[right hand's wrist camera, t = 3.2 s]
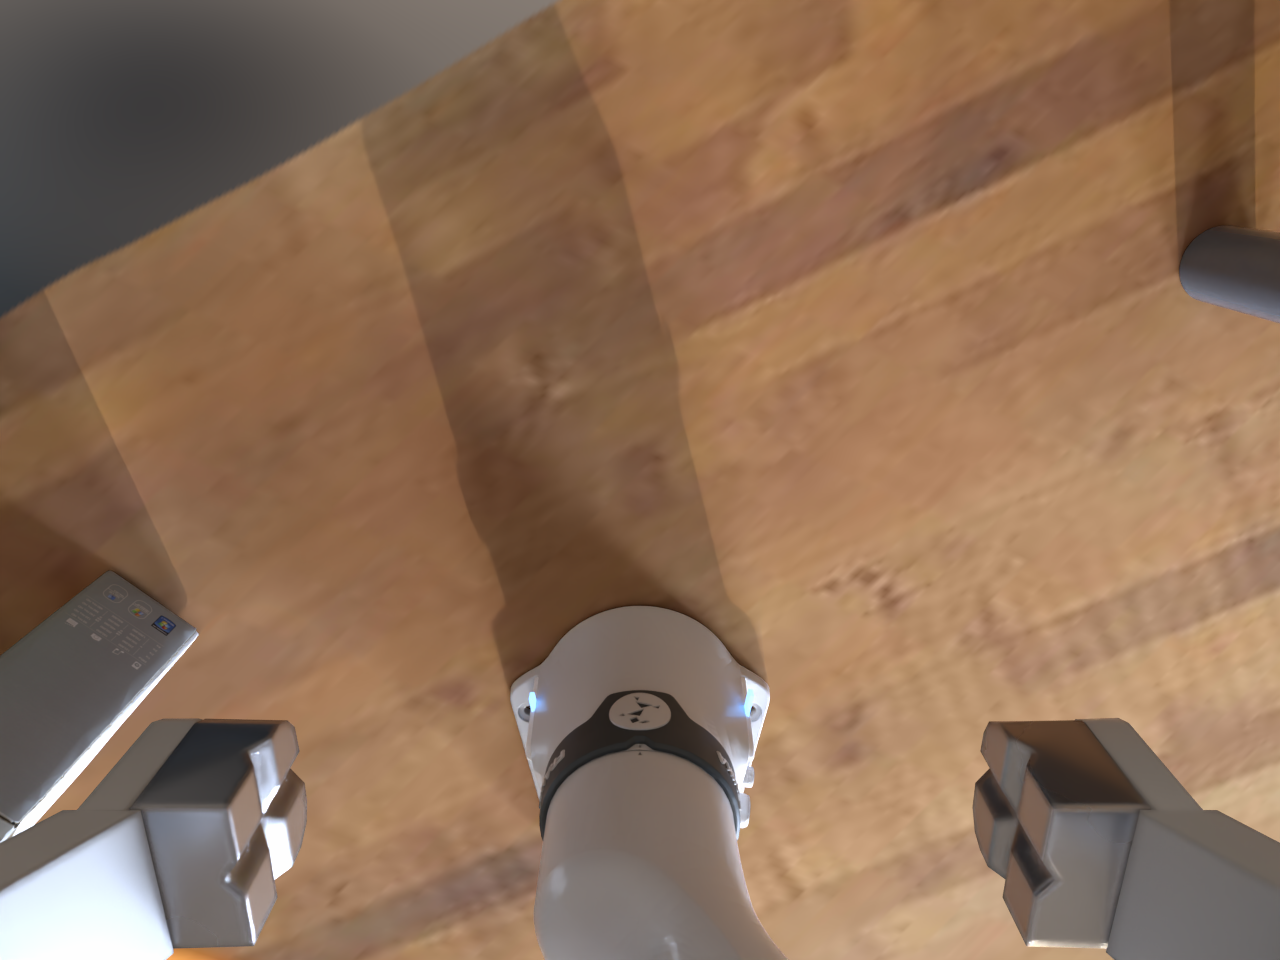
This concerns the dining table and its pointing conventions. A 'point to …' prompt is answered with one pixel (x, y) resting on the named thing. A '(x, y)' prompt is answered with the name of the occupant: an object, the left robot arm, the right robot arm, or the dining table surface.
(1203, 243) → the dark grey cylinder
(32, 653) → the hard drive box
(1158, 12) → the dining table surface
